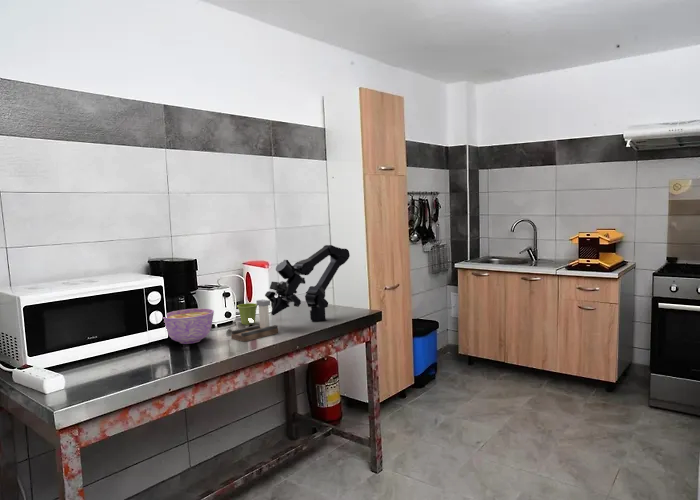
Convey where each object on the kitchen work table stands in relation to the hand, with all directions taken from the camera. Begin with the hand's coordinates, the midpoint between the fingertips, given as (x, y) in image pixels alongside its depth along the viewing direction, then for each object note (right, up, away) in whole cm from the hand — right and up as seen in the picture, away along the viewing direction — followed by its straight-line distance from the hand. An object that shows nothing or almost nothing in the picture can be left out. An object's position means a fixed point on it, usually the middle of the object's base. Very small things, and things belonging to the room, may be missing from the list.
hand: (272, 314), depth 216 cm
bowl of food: (-32, -10, -11) cm, 35 cm away
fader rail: (-6, -8, -6) cm, 12 cm away
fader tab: (-3, -5, -3) cm, 7 cm away
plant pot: (-14, -7, +19) cm, 25 cm away
